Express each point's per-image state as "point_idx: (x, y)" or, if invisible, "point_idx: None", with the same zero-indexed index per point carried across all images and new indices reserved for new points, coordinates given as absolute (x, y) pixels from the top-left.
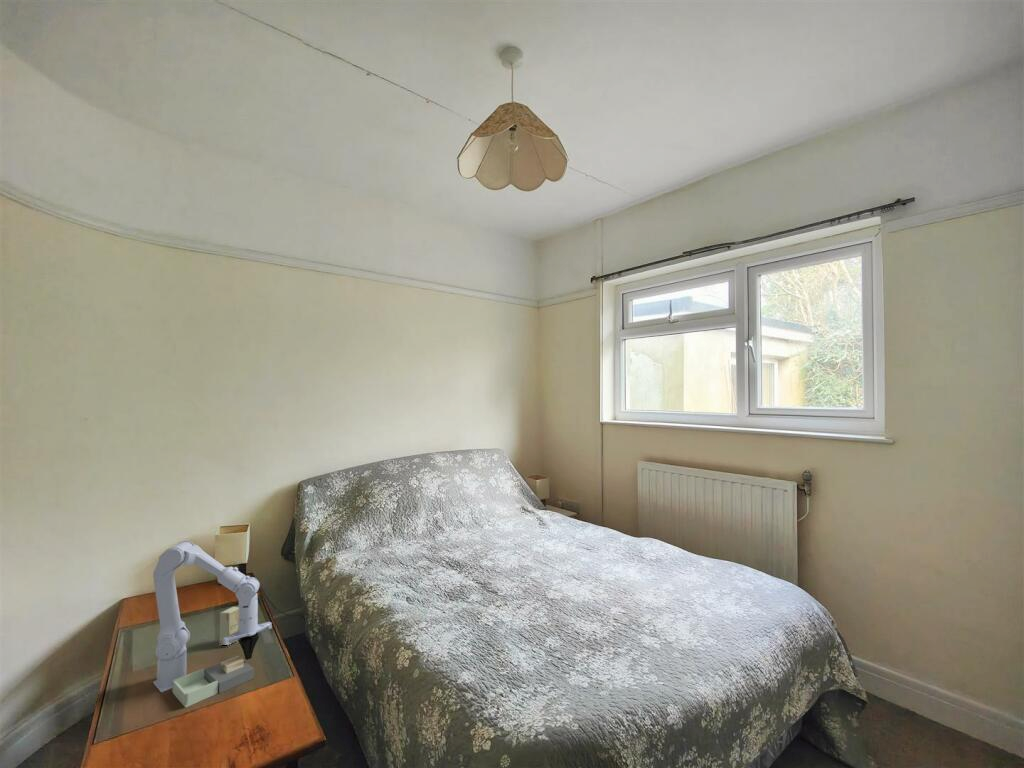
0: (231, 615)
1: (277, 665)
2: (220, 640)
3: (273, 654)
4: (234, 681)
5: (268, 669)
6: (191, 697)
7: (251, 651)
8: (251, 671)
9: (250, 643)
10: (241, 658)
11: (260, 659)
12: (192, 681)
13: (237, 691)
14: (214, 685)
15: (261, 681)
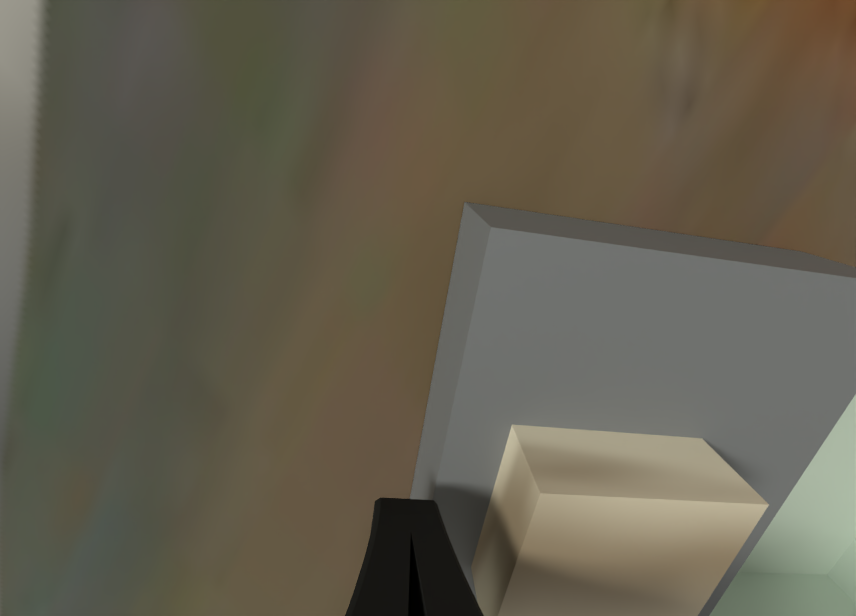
0: None
1: (132, 223)
2: None
3: (81, 495)
4: (711, 247)
5: (257, 237)
6: None
7: (388, 596)
8: (523, 225)
9: None
10: (520, 556)
11: (221, 508)
12: (741, 585)
13: (739, 87)
14: None
15: (472, 4)
